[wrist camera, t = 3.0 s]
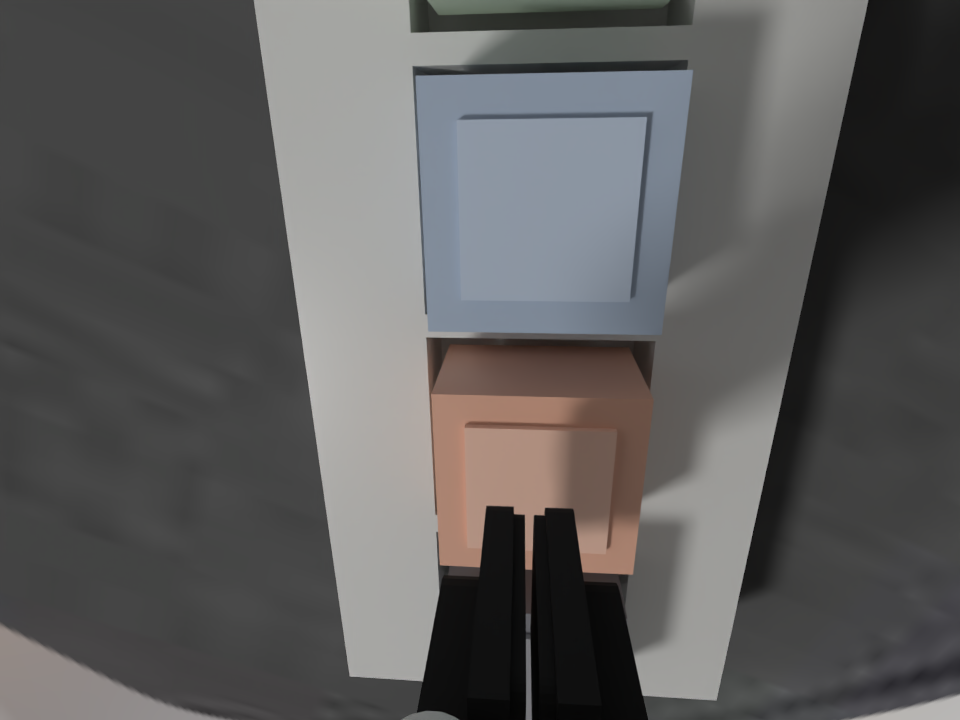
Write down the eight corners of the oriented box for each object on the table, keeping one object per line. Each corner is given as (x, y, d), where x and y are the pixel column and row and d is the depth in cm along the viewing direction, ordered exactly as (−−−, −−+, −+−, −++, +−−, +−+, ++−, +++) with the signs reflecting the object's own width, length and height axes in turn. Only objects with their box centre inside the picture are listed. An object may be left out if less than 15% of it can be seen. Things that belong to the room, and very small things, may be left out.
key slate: (654, 84, 12) (695, 69, 9) (634, 293, 14) (663, 338, 11) (440, 89, 12) (413, 75, 9) (447, 292, 14) (427, 333, 11)
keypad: (852, -304, 11) (969, -462, 8) (689, 619, 21) (716, 700, 18) (278, -264, 12) (198, -392, 9) (374, 602, 22) (349, 676, 19)
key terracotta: (629, 347, 14) (655, 403, 11) (614, 497, 16) (633, 579, 13) (449, 344, 14) (429, 397, 12) (455, 491, 16) (438, 569, 13)
